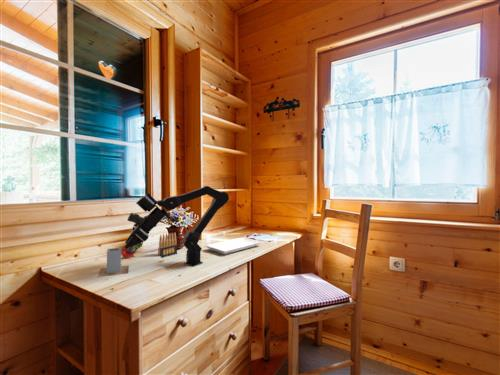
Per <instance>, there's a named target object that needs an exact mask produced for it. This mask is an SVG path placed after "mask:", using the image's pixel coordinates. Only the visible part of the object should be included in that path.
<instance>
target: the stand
mask: <svg viewBox="0 0 500 375" xmlns="http://www.w3.org/2000/svg"><path fill="white" fill-rule="evenodd" d="M129 268H130V265H129V264H128V265H121V272H115V273H107V267H102V268H100V269H99V272H98V275H97V278H101V277H109V276H117V275H126V274H129Z"/></svg>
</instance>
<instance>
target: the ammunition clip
mask: <svg viewBox="0 0 500 375" xmlns="http://www.w3.org/2000/svg"><path fill="white" fill-rule="evenodd" d="M162 234H163V235H162ZM162 234H160V236H159V241H158V250H157V251H158V253H157V254H158V255H157V256H159V257H160V259H163V258H166V257H170V256H174V255H177V254H178V244H177V235H176V234H177V233H176V232H171V233H170V232H168V233H165V234H164V233H162Z"/></svg>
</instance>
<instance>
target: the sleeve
mask: <svg viewBox="0 0 500 375" xmlns="http://www.w3.org/2000/svg"><path fill="white" fill-rule="evenodd" d="M121 252H122V247H113V248H107V251H106V268H107V273H115V272H121V266H122V254H121Z"/></svg>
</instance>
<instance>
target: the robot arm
mask: <svg viewBox="0 0 500 375" xmlns="http://www.w3.org/2000/svg"><path fill="white" fill-rule="evenodd" d="M206 195H207V196H209V197H210V198H212V200H211V203H210V205H209V207H208V208H207V209H206V211H205V212H204V214H203V215H202V217H201V218H200V219H199V221H198V222H197V223H196V225H195V226H194V228H192V229H191V230H190V229H187V231H186V232H185V234H184V235H182V237H183V238H182V245H183V246H184V247H185V248H186V249H187V250H186V256H185V259H186V260H185V261H186V262H185V261H184V263H183V264H184V265H187V266H191V267H195V266H198V265H201V264H203V263H204V262H203V261H202V260H201V251H202V247H201V246H200V245H199V244H198V243H199V241H200V239H201V235H202V233H203V232H204V230H205V229H206V227H207V226H208V225H209V223H210V222H211V220H212V219H213V218H214V216H216V214H217V212H218V211H219V210H220V209H221V208H222V207H224V206H225V204H227V203H228V202H229V201H230V200H229V199H230V195H229V194H228V192H225V191H220V190H217V189H216V188H215V189H214V188H213V187H211V186H209V185H204V186H202V187H200V188H196V189H194V190H192V191H188V192H186V193H183V194H180V195H179V194H178V195H173V196H172V195H171V196H168V197H164V199H161V200H159V199H158V200H156V199H155V198H154V197H153V196H152V195H151V194H150V193H149V192H147V193H146V194H145V195H143V196H142V197H141V198H140V199H139V200H137V201H136V203H135V204H136V205H137V206H138V207H139V208H141V209H142V210H143V211H144V212H146V213H147V212H149V214H147V215H145V216H144V217H142V216H140V214H138V213H133V212H130V214H129V215H128V217H127V221H128V222H130V223H131V222H132V223H134V224H133V226H132V232H131V233H130V235H129V236H128V238H127V239H126V240H125V242H124V243H125V245H124V248H123V249H125V250H126V249H127V248H129V247H132V246H134V245H136V244H139V243H141V242H143V243H144V242H146V241H147V240H148V239H149V234H150V232H151V230H153V229H154V228H156V227H157V225H158V224H159V223H160V222H161V221H162V220H163V219H164V218H165V217H166V218H167V219H171V218H170V215H171V212H170V211H173V210H175V209H176V208H178V207H180V206H181V205H183V204H185V203H187V202H189V201H192V200H195V199H198V198H201V197H203V196H206ZM157 205H158V206H157ZM159 207H160V208H159ZM161 207H162V208H161Z"/></svg>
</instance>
